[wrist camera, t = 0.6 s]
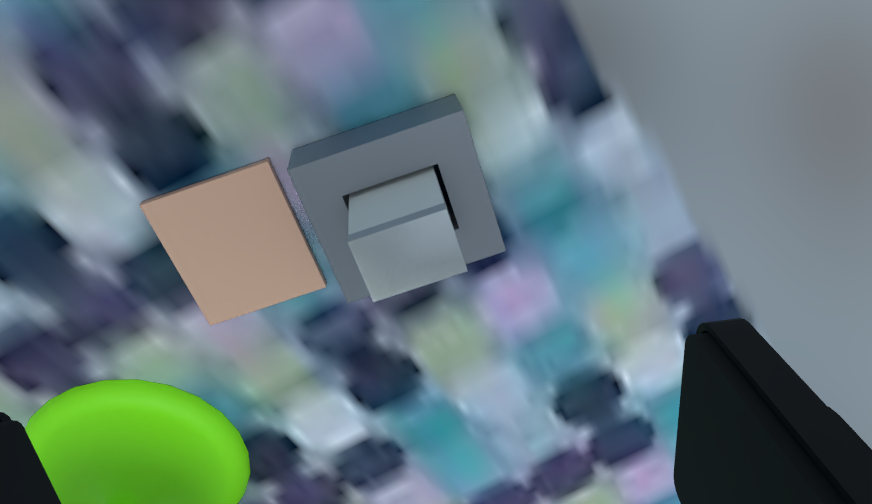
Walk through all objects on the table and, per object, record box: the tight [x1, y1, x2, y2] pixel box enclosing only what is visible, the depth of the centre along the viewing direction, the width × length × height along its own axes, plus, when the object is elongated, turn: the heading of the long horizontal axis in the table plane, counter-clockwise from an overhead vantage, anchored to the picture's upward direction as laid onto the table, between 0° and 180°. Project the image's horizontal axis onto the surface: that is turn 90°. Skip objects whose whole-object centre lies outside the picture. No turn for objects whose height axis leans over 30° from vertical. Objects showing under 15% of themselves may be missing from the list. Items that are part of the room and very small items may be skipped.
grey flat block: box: [287, 94, 506, 303], centre depth 39 cm, size 10×9×4 cm
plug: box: [347, 165, 467, 302], centre depth 36 cm, size 5×4×9 cm
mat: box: [140, 158, 327, 326], centre depth 41 cm, size 8×9×1 cm
